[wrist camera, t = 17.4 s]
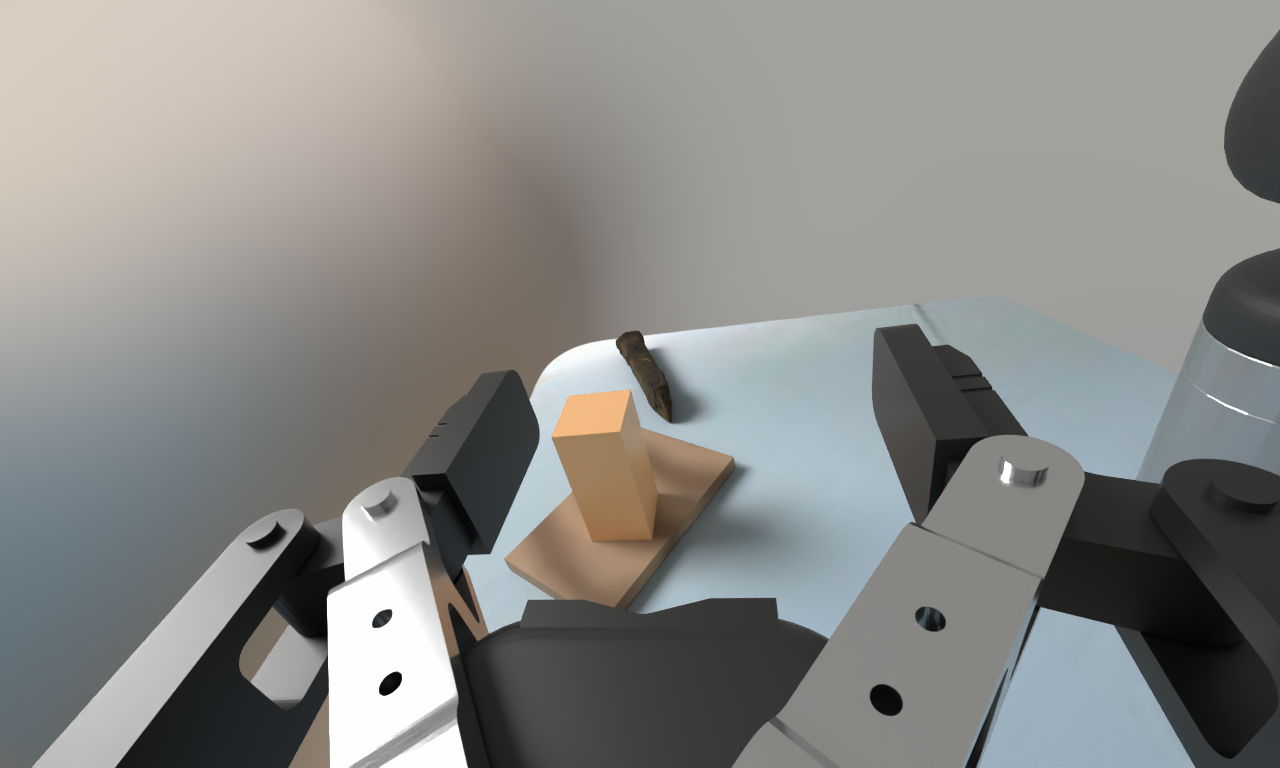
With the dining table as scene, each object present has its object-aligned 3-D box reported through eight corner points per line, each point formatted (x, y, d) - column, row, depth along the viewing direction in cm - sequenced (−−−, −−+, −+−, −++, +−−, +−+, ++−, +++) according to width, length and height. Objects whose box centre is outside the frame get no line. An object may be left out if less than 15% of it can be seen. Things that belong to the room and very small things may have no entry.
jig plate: (641, 437, 59) (631, 400, 56) (734, 468, 52) (728, 427, 49) (509, 569, 47) (489, 531, 45) (607, 633, 40) (589, 592, 37)
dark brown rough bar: (619, 358, 76) (612, 330, 74) (646, 350, 76) (639, 322, 74) (648, 432, 60) (640, 400, 58) (681, 422, 60) (674, 390, 58)
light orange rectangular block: (603, 496, 50) (568, 395, 44) (658, 493, 49) (630, 389, 43) (592, 541, 46) (551, 437, 40) (651, 539, 45) (620, 431, 38)
